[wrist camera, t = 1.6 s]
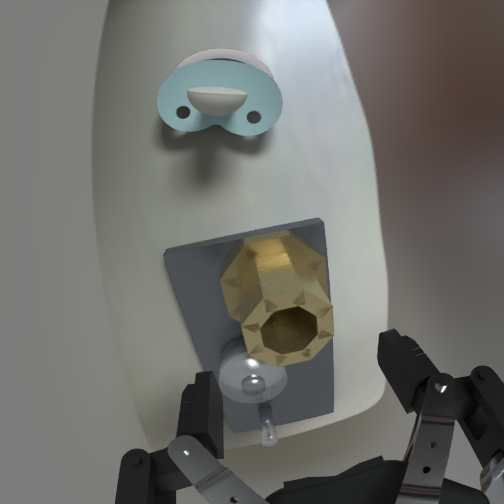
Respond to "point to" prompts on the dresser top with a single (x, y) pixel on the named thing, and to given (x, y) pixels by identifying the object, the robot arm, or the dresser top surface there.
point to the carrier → (233, 344)
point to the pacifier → (221, 93)
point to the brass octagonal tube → (279, 297)
